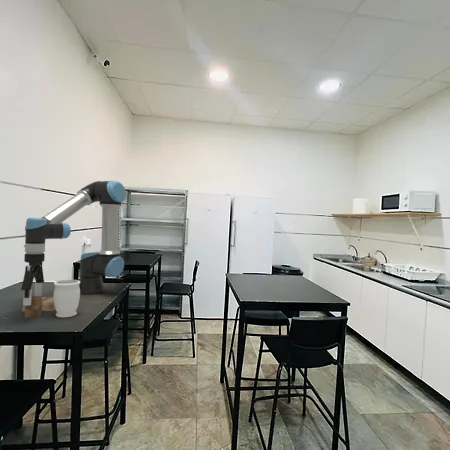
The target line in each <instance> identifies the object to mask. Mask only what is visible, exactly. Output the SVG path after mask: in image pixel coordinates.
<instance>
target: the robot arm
mask: <svg viewBox="0 0 450 450" xmlns="http://www.w3.org/2000/svg"><path fill="white" fill-rule="evenodd" d="M126 197H127V190H126V187H125V186H124V185H123V183H121V182H120V181H116V180H103V181H101V180H96V181H93V182H91V183H89V184H87V185H86V186H84V187H82V188H81V189H79V190H78V191H76V194H75V195H73V196H72V197H70V198H69V199H68V200H66V201H65V202H63V203H62V204H60V205H59V206H57V207H55V208H54V209H53V210H51V211H49V212H48V213H47V214H45V215H44V216H41V217H29V218H28V217H27V219H26V221H25V227H24V231H25V235H24V236H25V237H24V238H25V240H24V241H25V243H24V245H23V248H24V252H25V254H24V256H23V257H24V260H23V261H24V263H28V265H26V266H25V268H24V270H25V271H24V276H23V280H22V283H21V288H20V290H21V291H23V301H22V305H23V306H25V305H31V296H32V294H33V292H32V291H33V289H32V286H33V283H34V281H35V283H34V295H33V296H42V293H43V292H42V291H43V283H45V277H44V269H43V262H45V257H46V255H45V252H46V240H56V239H57V240H59V239H60V240H62V239H63V240H64V239H67V238H69V237H70V235H71V233H72V229H71V226H70V225H69V224H68V223H67V222H64V221H66V220H67V219H69V218H70V217H73V215H75V214H76V213H77V212H78V211H80V210H81V209H83V208H84V207H86V206H90V205H92V204H93V203H97V202H99V206H100V207H101V212H102V214H101V246H100V247H101V248H100V249H101V250H100V251H94V252H93V251H92V252H84V253H81V254H80V259H79V264H80V265H79V270H80V271H79V272H80V273H79V280H78V281H80V284H79V287H80V295H95V294H100V293H103V292H104V291H105V285H104V281H103V278H102V277H108V278H114V277H115V278H116V277H118V276H119V275H120V274H121V273H122V272H123V271H124V268H125V261H124V258H123V257H121V251H119V250H118V245H119V244H118V242H119V241H118V240H119V239H118V238H119V235H118V234H119V208H121V206H122V202H124V201H125V199H126Z"/></svg>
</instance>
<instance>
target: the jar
mask: <svg viewBox="0 0 450 450" xmlns="http://www.w3.org/2000/svg"><path fill="white" fill-rule="evenodd" d="M79 284H80V281H79V280H77V279H63V280H62V279H61V280H58V281H57V280H56V281H54V282H53V285H54V290H53V297H54V305H55V311H56V313H55V317H57V318H70V317H74V316H76V315H78V312H77V308H78V307H79V302H80V299H81V294H80V287H79Z"/></svg>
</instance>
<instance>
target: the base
mask: <svg viewBox="0 0 450 450" xmlns="http://www.w3.org/2000/svg"><path fill="white" fill-rule="evenodd" d="M54 311H56V309H55V305H54V296H42V311H41V312H54ZM21 312H22V313H25V306H23V304H22V305H21Z"/></svg>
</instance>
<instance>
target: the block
mask: <svg viewBox="0 0 450 450" xmlns="http://www.w3.org/2000/svg"><path fill="white" fill-rule="evenodd" d="M42 297H43V296H42V295H41V296H34V295H33V296H32V295H31V305H25V312H24V318H26V319H29V318H39V317H40V315H42V312H43V311H42Z"/></svg>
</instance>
